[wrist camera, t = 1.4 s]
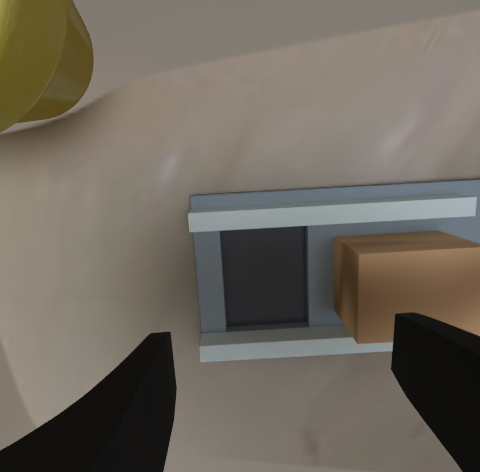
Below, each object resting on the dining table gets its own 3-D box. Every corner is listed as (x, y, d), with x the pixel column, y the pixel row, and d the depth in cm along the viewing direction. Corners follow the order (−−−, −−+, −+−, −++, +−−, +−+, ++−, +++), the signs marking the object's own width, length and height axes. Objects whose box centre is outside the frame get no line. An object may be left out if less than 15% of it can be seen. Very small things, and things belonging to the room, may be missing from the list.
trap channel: (592, 328, 22) (636, 348, 20) (205, 351, 22) (201, 374, 20) (618, 170, 20) (670, 171, 18) (192, 194, 20) (186, 199, 18)
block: (434, 304, 21) (480, 336, 17) (334, 310, 21) (357, 344, 17) (438, 230, 20) (489, 246, 16) (334, 236, 20) (358, 254, 16)
